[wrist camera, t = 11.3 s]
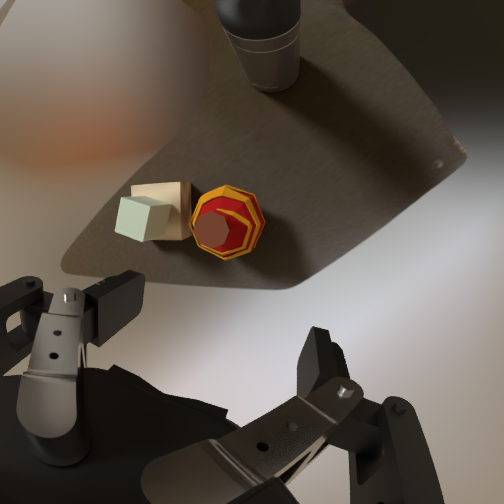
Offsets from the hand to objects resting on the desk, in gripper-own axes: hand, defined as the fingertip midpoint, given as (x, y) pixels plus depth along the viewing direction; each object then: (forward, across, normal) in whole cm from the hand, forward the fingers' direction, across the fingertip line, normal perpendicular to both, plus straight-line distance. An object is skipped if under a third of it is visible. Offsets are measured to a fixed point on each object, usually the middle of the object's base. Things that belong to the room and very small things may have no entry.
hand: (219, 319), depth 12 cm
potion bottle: (+33, +6, 0) cm, 34 cm away
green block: (+28, +18, +2) cm, 34 cm away
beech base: (+33, +18, +1) cm, 38 cm away
